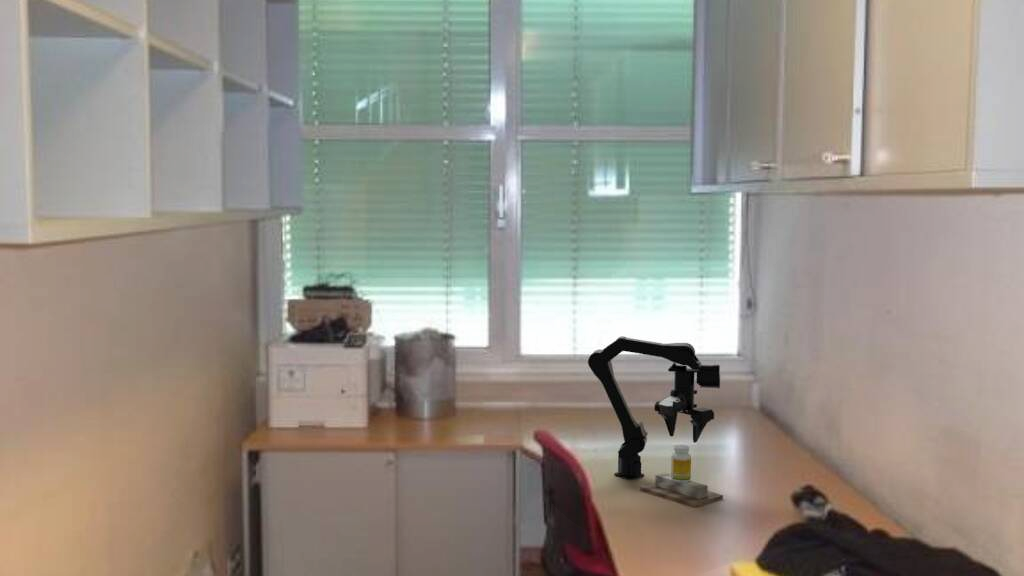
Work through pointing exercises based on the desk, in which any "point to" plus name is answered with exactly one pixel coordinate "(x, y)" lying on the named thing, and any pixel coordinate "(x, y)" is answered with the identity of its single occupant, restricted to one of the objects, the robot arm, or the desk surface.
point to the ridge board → (680, 496)
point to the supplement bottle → (681, 464)
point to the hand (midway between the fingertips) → (683, 439)
